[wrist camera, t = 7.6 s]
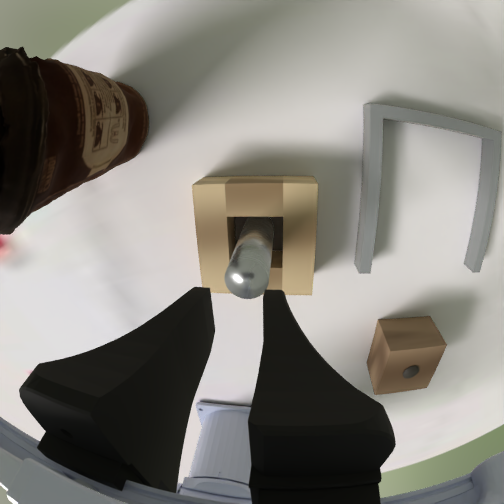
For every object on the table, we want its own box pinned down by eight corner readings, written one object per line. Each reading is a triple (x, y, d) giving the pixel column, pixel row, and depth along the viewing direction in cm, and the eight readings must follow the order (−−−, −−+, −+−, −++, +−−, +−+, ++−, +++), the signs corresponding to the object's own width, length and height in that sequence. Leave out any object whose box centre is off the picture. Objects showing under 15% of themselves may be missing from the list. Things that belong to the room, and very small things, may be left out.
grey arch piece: (470, 263, 19) (479, 272, 17) (354, 263, 20) (358, 273, 18) (489, 130, 14) (501, 131, 13) (363, 104, 15) (370, 103, 14)
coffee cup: (138, 43, 15) (-9, -5, 3) (189, 139, 17) (39, 173, 6) (56, 114, 17) (-82, 139, 5) (97, 200, 20) (-36, 280, 8)
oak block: (309, 275, 20) (312, 295, 18) (211, 273, 21) (203, 292, 19) (313, 176, 18) (318, 184, 15) (203, 177, 18) (191, 185, 16)
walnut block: (414, 357, 23) (427, 388, 19) (366, 361, 24) (374, 395, 20) (429, 315, 21) (447, 345, 17) (377, 318, 22) (390, 352, 18)
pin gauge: (275, 241, 20) (270, 298, 13) (245, 242, 20) (227, 299, 14) (273, 212, 19) (267, 259, 13) (242, 214, 19) (221, 260, 13)
